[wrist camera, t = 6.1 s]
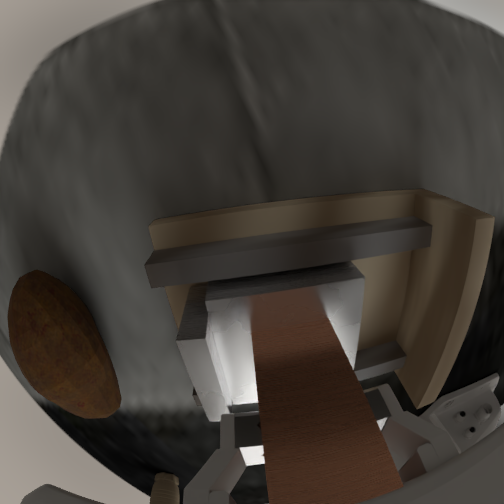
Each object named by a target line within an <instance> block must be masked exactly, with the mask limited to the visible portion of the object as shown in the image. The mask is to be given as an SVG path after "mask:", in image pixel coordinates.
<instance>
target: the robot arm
mask: <svg viewBox="0 0 504 504" xmlns="http://www.w3.org/2000/svg"><path fill="white" fill-rule="evenodd" d="M498 380H499V375H498V374H497V373H494V374H492V375H490V376H488V377H486V378H484V379H482V380H480V381H478V382H475V383H473V384H471V385H469V386H466V387H464V388H462V389H459V390H457V391H454V392H452V393H449V394H446V395H444V396H442V397H440V398H439V399H438V400H437V401H436V402H434V403H433V404H432V405H431V406H430V407H429V408H428V409H427V410H426V411H425V412H424V413H423V414H422V415H420V416H419V417H417V416H415V415H413V414H412V413H410V412H408V411H405V412H403V410H402V408H401V406H400V404H399V402H398V400H397V399H396V397H395V395H394V393H393V391H392V389H391V388H390V386H389V385H388V384H383V385H380V386H377V387H373V388H370V389H367V390H363V392H364V394H365V396H366V398H367V400H368V403H369V405H370V407H371V409H372V412H373V414H374V416H375V418H376V421H377V423H378V425H379V428H380V430H381V432H382V435H383V437H384V439H385V442H386V444H387V446H388V449H389V451H390V453H391V456H392V458H393V461H394V463H395V466H396V468H397V471H398V473H399V476H400V478H401V481H402V483H403V486H404V487H402V488H399V489H397V490H394V491H392V492H389V493H387V494H384V495H381V496H378V497H375V498H372V499H369V500H366V501H363V502H360V503H357V504H504V423H503V424H501V425H500V426H499V427H498V428H496V427H497V424H498V421H499V418H500V414H501V408H500V405H499V402H498V400H497V398H496V396H495V395H494V393H493V391H494V389H495V387H496V385H497V383H498ZM264 463H265V460H264V451H263V442H262V433H261V424H260V414H259V411H256V412H246V413H231V414H222V415H221V428H220V449H216V451H215V452H214V453H213V455H212V456H211V457H210V458H209V460H208V461H207V462H206V463H205V465H204V466H203V467H202V468H201V470H200V471H199V472H198V473H197V474H196V476H195V477H194V478H193V479H192V480H191V482H190V483H189V484H188V485H187V486H186V487H185V489H184V499H183V504H237V503H236V502H235V501H234V500H233V498H232V497H231V496H230V492H231V491H232V489H233V487H234V486H235V484H236V483H237V481H238V480H239V478H240V476H241V475H242V473H243V471H244V470H245V468H246V466H247V465H256V464H264ZM21 504H104V503H100V502H97V501H94V500H91V499H88V498H85V497H82V496H79V495H76V494H73V493H71V492H68V491H66V490H63V489H61V488H58V487H56V486H53V485H50V484H45V485H43V486H40V487H39V488H37V489H35V490H34V491H32V492H31V493H29V494H28V495H26V496H25V497H24V498H23V500H22V502H21Z"/></svg>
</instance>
